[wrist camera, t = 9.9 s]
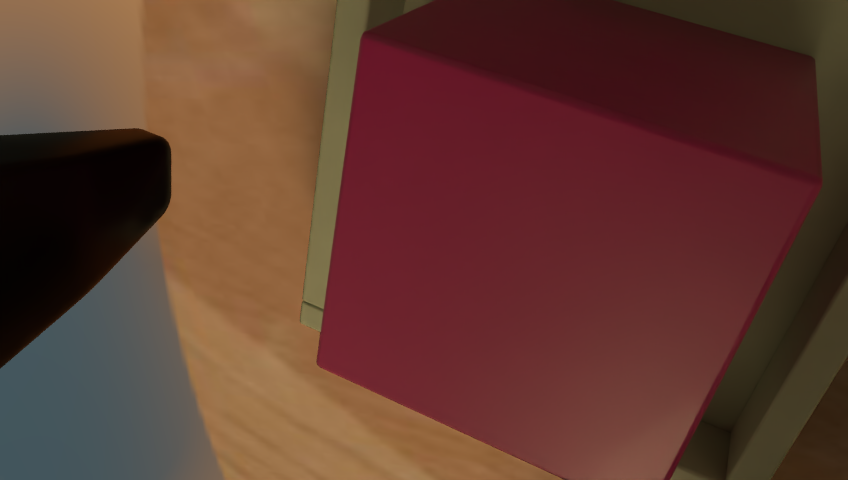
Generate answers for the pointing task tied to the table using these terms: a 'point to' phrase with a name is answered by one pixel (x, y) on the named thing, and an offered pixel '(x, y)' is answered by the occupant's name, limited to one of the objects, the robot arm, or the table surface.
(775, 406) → the tray
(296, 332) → the table surface
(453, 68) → the mulberry block
